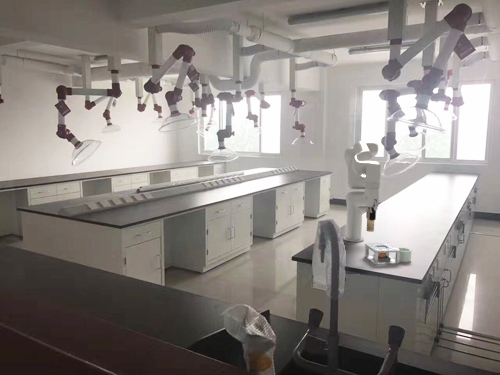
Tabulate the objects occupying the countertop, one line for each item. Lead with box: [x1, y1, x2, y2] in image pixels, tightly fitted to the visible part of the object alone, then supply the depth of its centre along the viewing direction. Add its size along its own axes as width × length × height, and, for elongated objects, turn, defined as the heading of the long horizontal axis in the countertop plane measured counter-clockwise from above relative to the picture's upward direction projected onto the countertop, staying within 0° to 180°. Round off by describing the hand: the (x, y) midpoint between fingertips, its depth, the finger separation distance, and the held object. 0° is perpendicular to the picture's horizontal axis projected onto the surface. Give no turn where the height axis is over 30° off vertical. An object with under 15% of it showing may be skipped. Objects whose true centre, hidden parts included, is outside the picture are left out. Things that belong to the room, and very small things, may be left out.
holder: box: [397, 247, 413, 263], centre depth 218 cm, size 7×7×6 cm
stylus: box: [366, 207, 375, 233], centre depth 217 cm, size 4×4×13 cm
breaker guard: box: [364, 242, 401, 265], centre depth 218 cm, size 14×14×7 cm
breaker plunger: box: [378, 253, 386, 258], centre depth 218 cm, size 5×5×3 cm
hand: (370, 218), depth 217 cm, fingers closed on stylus, 3 cm apart
